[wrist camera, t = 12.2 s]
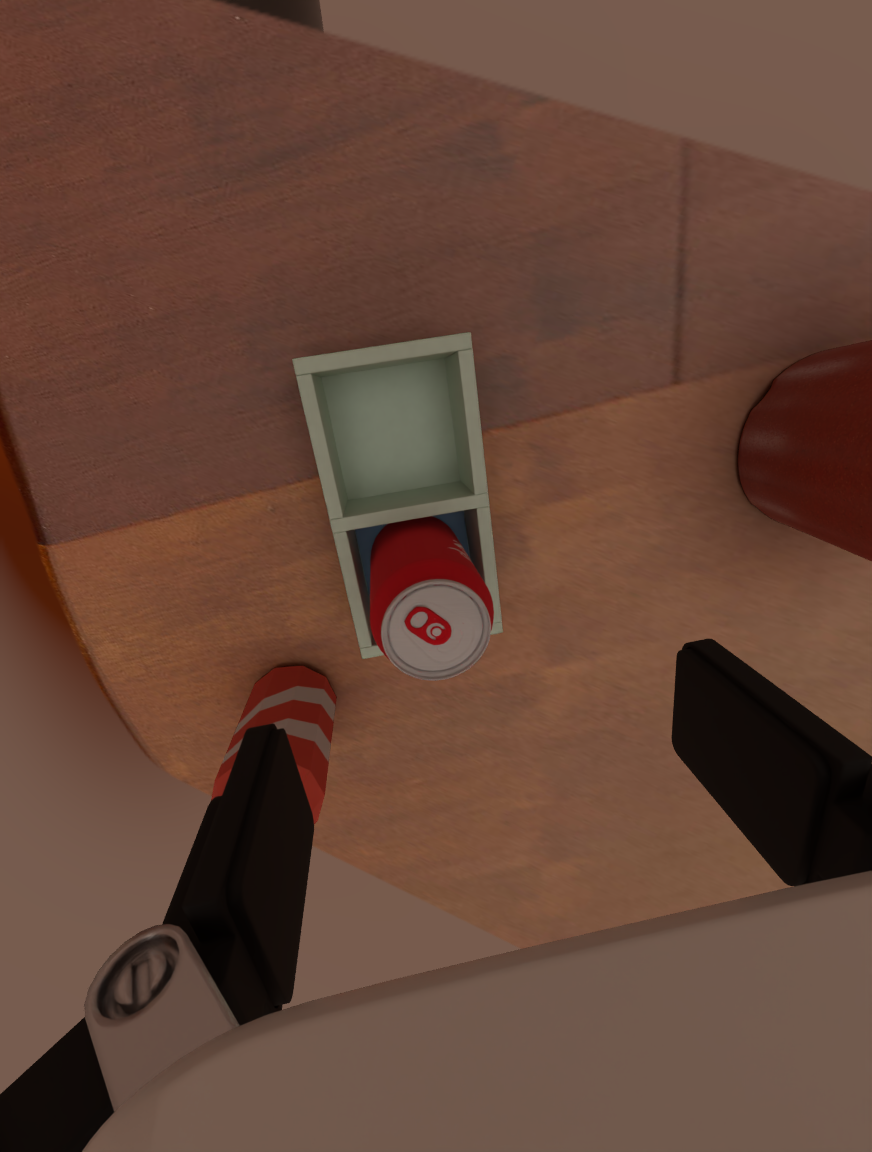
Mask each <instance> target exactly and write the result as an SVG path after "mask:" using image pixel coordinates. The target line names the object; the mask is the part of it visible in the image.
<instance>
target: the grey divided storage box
mask: <svg viewBox="0 0 872 1152" xmlns="http://www.w3.org/2000/svg"><path fill="white" fill-rule="evenodd" d="M292 362H293V366H294V370H295V374H296V375H297V376H296V379H297V383H298V387H299V392H300V396H301V400H302V404H303V409H304V413H305V417H306V422H307V426H308V430H309V434H310V439H311V443H312V447H313V451H314V456H315V460H316V464H317V468H318V473H319V477H320V481H321V486H322V490H323V494H324V498H325V503H326V507H327V511H328V515H329V519H330V524H331V528H332V532H333V537H334V541H335V545H336V549H337V554H338V558H339V562H340V566H341V571H342V575H343V579H344V583H345V588H346V592H347V596H348V601H349V605H350V609H351V613H352V618H353V622H354V626H355V630H356V635H357V639H358V643H359V647H360V652H361V656H362V659H366V658H371V657H376V656H382V655H384V654H383V653H382V651H381V650H380V649H379V647H378V645H377V644H376V642H375V640H374V637H373V635H372V631H371V626H370V559H371V549H372V545H373V543H374V540H375V538H376V537H377V535H378V534H379V532H380V531H381V530H382V529H383V528H384V527H385V526H386V525H387V524H389V523H395V522H401V521H406V520H412V519H418V518H424V517H429V516H432V517H435V518H437V519H439V520H441V521H443V522H444V523H445V524H446V525H448V526H449V527H450V528H451V530H452V531H453V532H454V534H455V535H456V537H457V538H458V540H459V542H460V543H461V545H462V547H463V548H464V550H465V551H466V553H467V555H468V556H469V558H470V560H471V561H472V563H473V565H474V566H475V568H476V569H477V571H478V573H479V574H480V576H481V578H482V579H483V581H484V582H485V584H486V586H487V587H488V589H489V592H490V594H491V597H492V601H493V607H494V620H493V626H492V630H491V633H490V635H492V634H497V633H502V632H503V627H502V622H501V621H502V618H501V608H500V599H499V590H498V580H497V571H496V562H495V553H494V543H493V534H492V525H491V515H490V507H489V496H488V493H487V492H488V487H487V478H486V469H485V459H484V450H483V441H482V431H481V422H480V413H479V403H478V394H477V385H476V375H475V366H474V357H473V350H472V339H471V333H470V332H466V333H460V334H453V335H447V336H440V337H433V338H427V339H420V340H413V341H407V342H400V343H394V344H387V345H380V346H374V347H367V348H361V349H354V350H347V351H341V352H334V353H327V354H321V355H314V356H308V357H301V358H294V359H292Z"/></svg>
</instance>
